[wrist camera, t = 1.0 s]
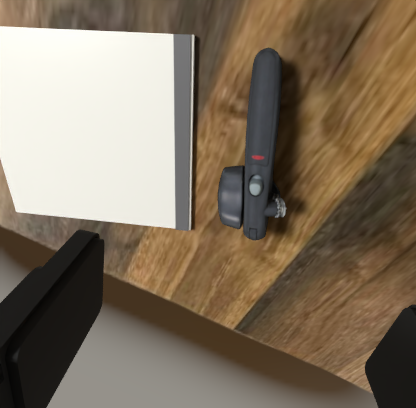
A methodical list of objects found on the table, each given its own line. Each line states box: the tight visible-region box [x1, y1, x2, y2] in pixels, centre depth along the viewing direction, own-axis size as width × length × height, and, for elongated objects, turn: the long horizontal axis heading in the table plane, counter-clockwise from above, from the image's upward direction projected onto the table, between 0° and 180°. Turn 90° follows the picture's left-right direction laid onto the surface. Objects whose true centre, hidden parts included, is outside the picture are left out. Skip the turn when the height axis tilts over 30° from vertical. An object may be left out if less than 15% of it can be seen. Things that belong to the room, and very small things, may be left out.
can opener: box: [218, 48, 287, 240], centre depth 28 cm, size 18×7×6 cm, turn 176°
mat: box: [0, 27, 195, 231], centre depth 31 cm, size 22×20×1 cm
